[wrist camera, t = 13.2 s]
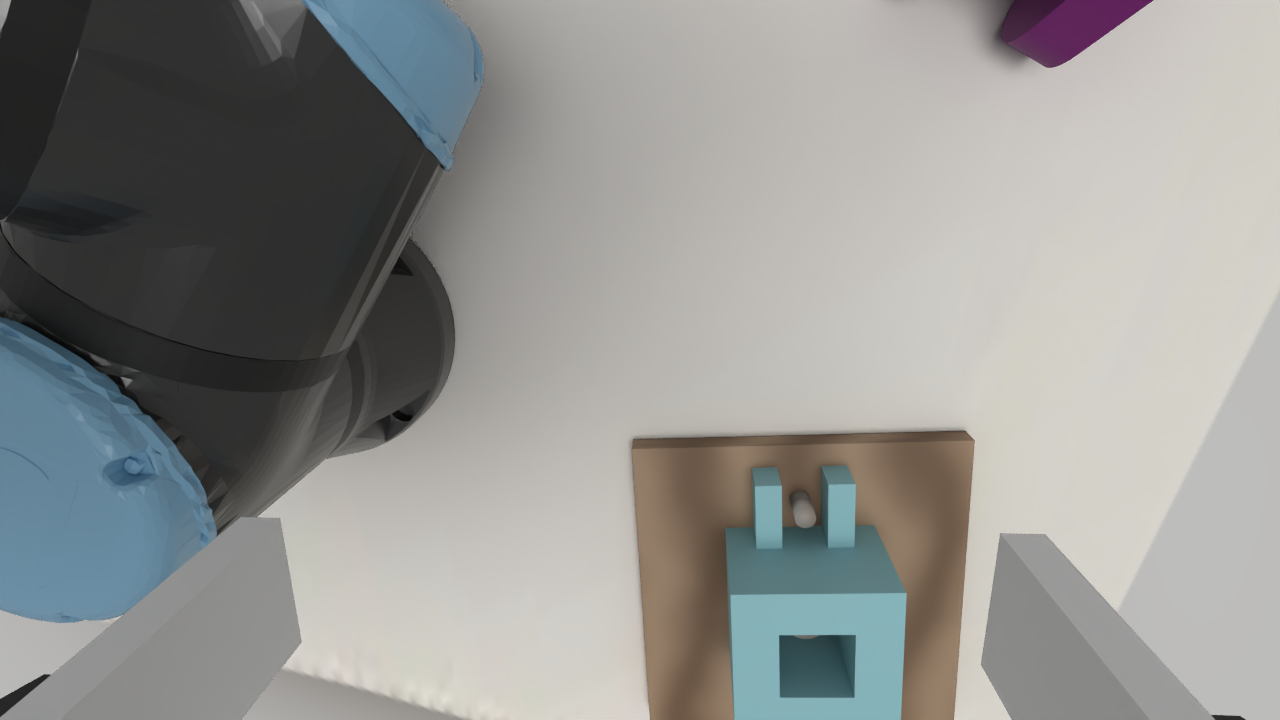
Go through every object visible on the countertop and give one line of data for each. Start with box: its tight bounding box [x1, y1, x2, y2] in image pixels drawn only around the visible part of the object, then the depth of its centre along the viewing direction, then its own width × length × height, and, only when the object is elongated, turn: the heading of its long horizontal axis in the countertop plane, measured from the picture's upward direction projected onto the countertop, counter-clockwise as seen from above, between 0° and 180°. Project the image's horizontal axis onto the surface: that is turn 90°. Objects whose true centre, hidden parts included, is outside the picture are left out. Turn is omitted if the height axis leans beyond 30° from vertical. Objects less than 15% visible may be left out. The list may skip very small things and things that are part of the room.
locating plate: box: [632, 431, 975, 720], centre depth 45 cm, size 20×20×4 cm
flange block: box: [725, 465, 907, 720], centre depth 42 cm, size 17×9×7 cm, turn 3°
